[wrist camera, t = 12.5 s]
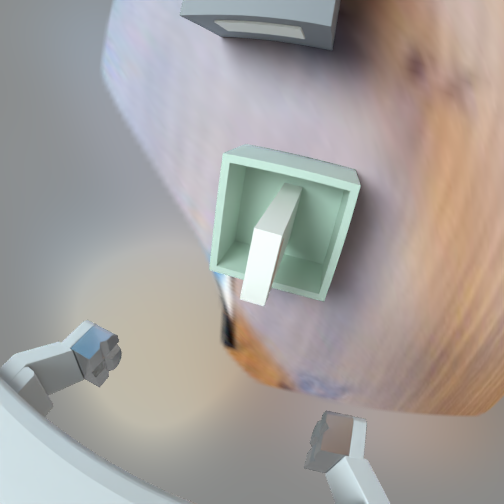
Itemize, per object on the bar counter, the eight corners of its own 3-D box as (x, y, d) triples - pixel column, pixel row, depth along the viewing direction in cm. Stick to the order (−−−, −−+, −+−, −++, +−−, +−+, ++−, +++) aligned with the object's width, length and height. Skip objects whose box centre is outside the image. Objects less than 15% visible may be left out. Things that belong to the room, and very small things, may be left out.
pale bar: (303, 187, 26) (282, 235, 17) (290, 237, 29) (264, 306, 19) (284, 182, 26) (253, 227, 17) (273, 232, 29) (239, 298, 19)
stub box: (355, 169, 25) (360, 185, 20) (327, 267, 30) (323, 301, 25) (245, 144, 27) (223, 153, 21) (231, 241, 31) (209, 269, 26)
